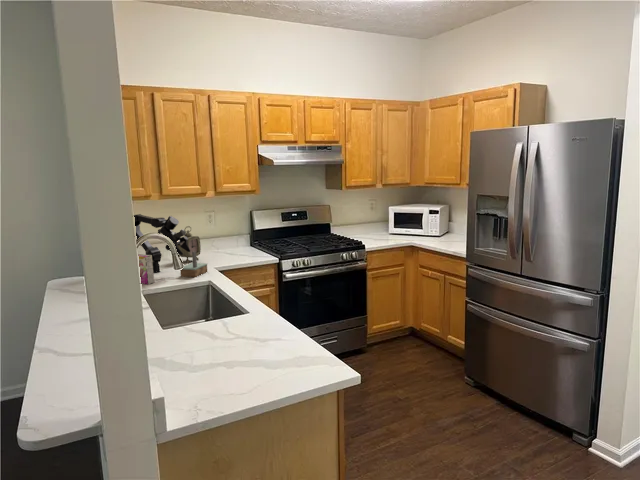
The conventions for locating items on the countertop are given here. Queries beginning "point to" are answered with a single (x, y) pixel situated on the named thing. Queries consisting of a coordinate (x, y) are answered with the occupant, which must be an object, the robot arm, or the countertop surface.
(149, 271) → the candy bar box
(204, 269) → the walnut box
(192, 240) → the tabletop clock
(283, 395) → the countertop surface
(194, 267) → the lid
